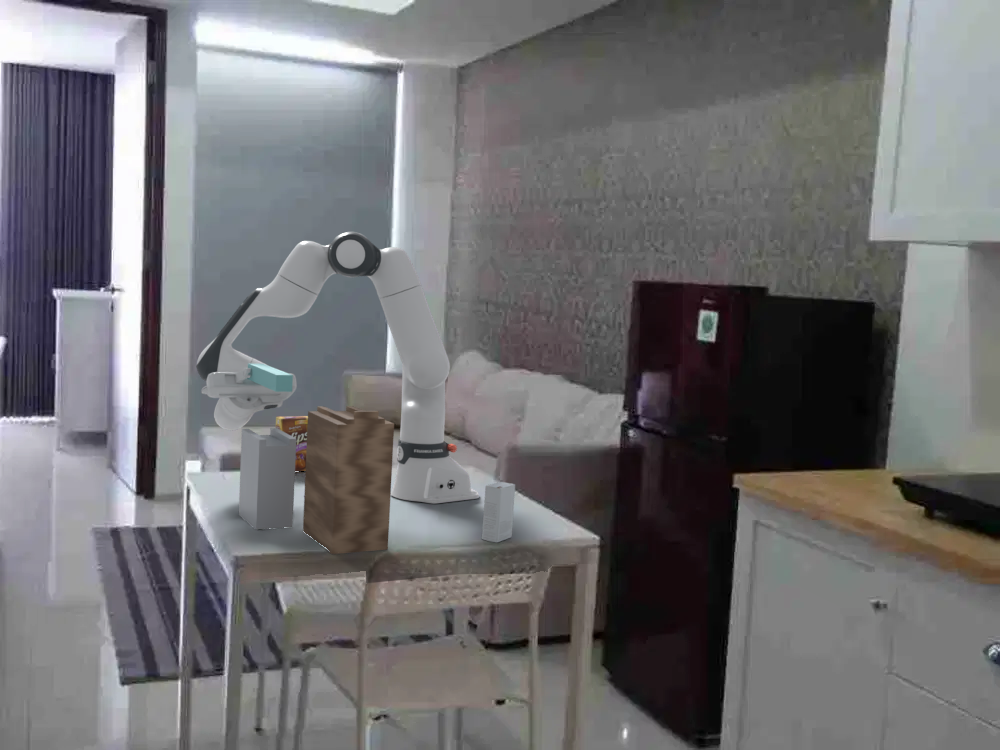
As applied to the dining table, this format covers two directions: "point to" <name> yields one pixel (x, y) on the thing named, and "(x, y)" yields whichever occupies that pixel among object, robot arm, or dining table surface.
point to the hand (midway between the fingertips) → (260, 371)
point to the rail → (271, 377)
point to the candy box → (296, 436)
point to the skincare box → (498, 511)
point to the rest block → (267, 479)
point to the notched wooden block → (348, 479)
